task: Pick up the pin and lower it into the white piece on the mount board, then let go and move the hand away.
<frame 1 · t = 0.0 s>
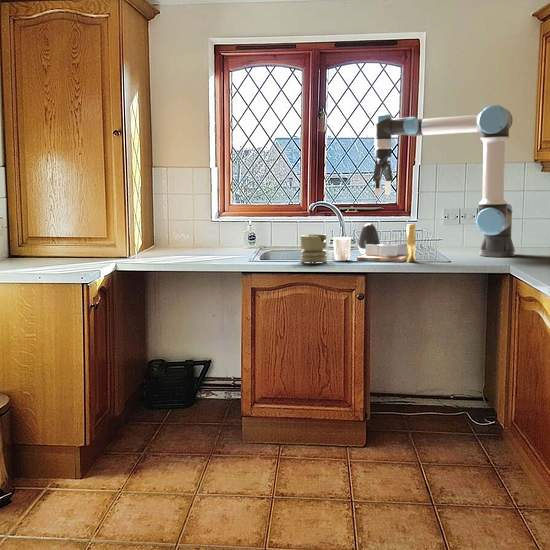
hand: (383, 195, 297), 28 cm above the worktop, fingers open, 13 cm apart
mount board: (387, 259, 285), on the worktop
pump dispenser: (369, 255, 304), on the worktop
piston: (313, 262, 283), on the worktop
white cup: (342, 260, 288), on the worktop
white piece: (387, 256, 285), resting on mount board
pin: (411, 261, 275), on the worktop
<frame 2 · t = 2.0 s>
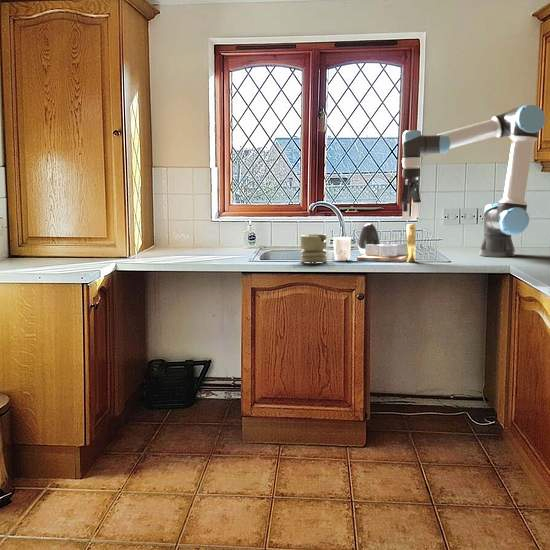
hand: (410, 218, 273), 19 cm above the worktop, fingers open, 13 cm apart
nothing on the worktop moved.
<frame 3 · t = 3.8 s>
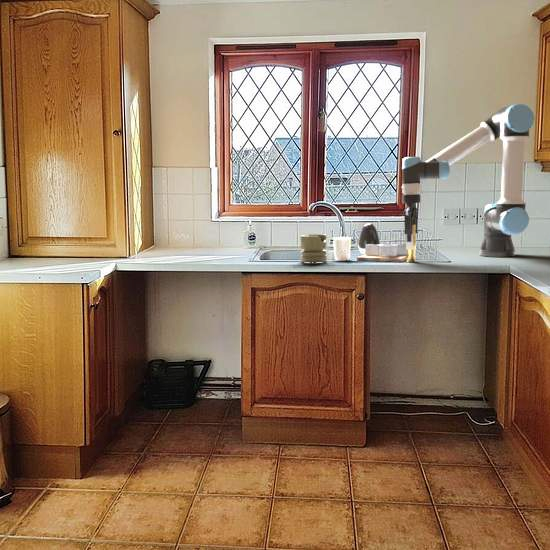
hand: (411, 248, 274), 6 cm above the worktop, fingers closed on pin, 4 cm apart
pin: (411, 261, 275), on the worktop, touching gripper
everything else where it was.
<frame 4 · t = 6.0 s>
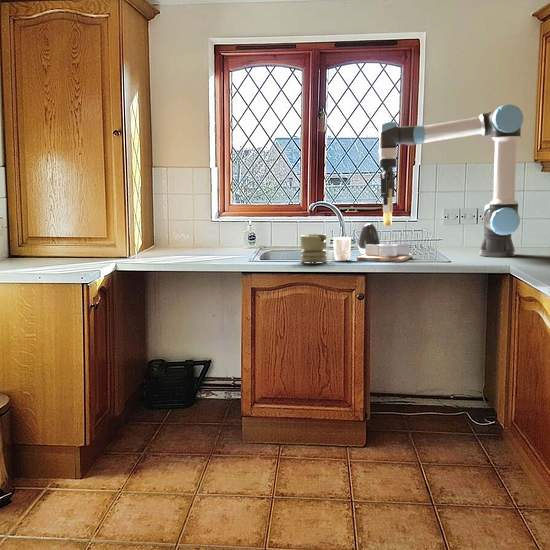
hand: (387, 212, 282), 21 cm above the worktop, fingers closed on pin, 4 cm apart
pin: (387, 225, 283), point 15 cm above the worktop, touching gripper
everything else where it was.
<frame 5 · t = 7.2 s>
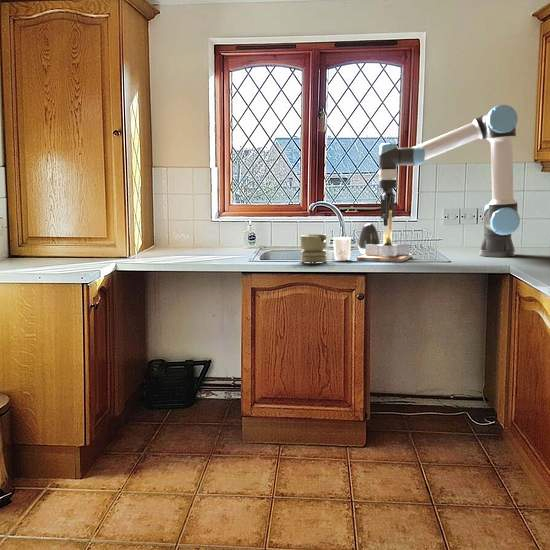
hand: (387, 232, 284), 12 cm above the worktop, fingers closed on pin, 4 cm apart
pin: (387, 245, 284), point 6 cm above the worktop, touching gripper
everything else where it was.
when the fingers open (8 cm above the worktop, at t = 8.3 s): pin stays where it is, resting on mount board.
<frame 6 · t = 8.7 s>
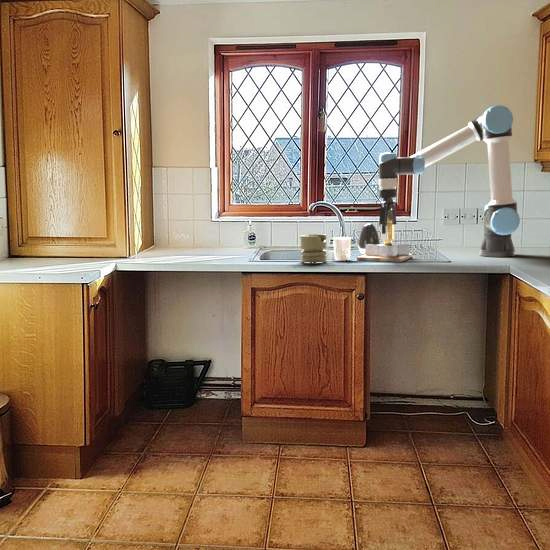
hand: (387, 239, 284), 9 cm above the worktop, fingers open, 9 cm apart
pin: (388, 256, 285), point 2 cm above the worktop, touching mount board
everything else where it was.
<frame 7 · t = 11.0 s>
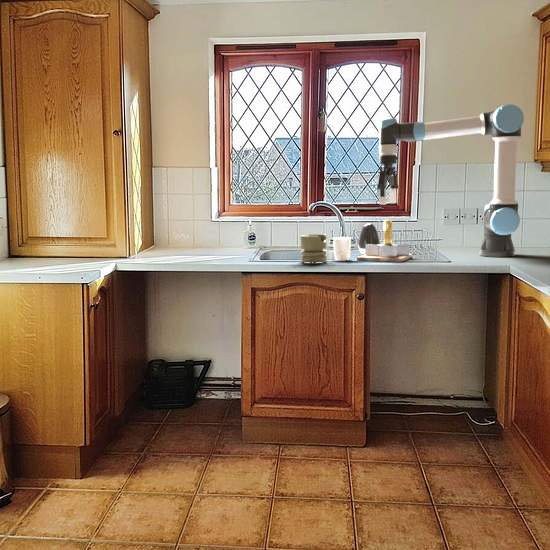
hand: (388, 204, 282), 25 cm above the worktop, fingers open, 13 cm apart
nothing on the worktop moved.
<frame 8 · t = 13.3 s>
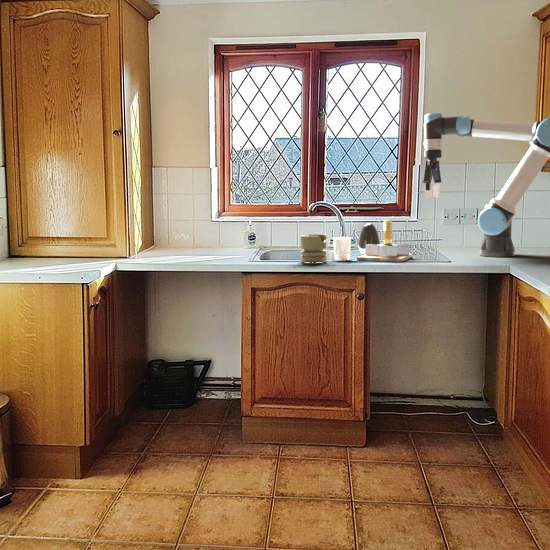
hand: (432, 197, 286), 27 cm above the worktop, fingers open, 13 cm apart
nothing on the worktop moved.
at the end: pin 0.0 cm off-centre in the white piece, point 0.0 cm above the white piece's base; pin tilted 0°; the gripper is holding nothing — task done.
